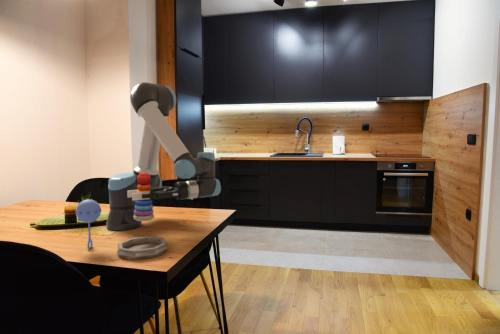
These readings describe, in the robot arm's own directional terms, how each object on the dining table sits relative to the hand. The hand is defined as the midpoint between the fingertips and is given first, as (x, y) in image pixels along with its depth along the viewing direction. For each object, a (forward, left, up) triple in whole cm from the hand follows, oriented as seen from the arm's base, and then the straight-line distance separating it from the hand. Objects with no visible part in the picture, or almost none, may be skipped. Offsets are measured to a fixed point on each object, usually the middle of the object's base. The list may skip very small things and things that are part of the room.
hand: (130, 195), depth 143 cm
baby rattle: (-8, -13, -18) cm, 24 cm away
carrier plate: (+13, -10, -18) cm, 24 cm away
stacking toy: (+3, +4, -10) cm, 11 cm away
